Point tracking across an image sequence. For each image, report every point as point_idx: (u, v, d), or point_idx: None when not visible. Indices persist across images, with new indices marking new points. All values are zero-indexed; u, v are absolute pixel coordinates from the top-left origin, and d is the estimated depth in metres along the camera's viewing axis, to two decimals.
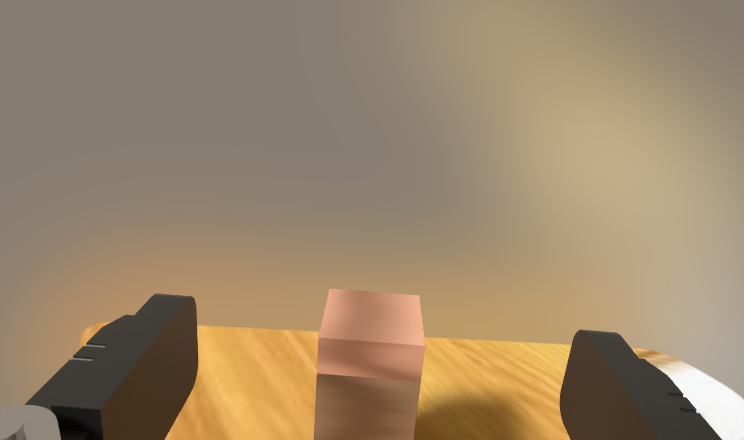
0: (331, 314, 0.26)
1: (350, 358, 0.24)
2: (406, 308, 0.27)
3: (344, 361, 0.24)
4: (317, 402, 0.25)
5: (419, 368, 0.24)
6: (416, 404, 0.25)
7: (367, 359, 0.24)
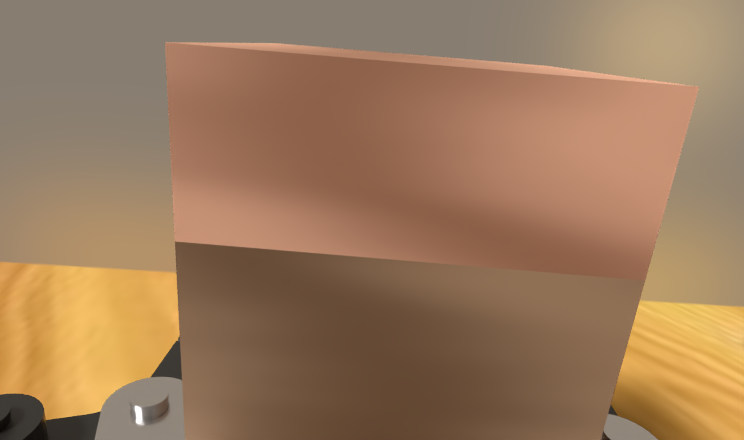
0: (260, 45, 0.07)
1: (326, 162, 0.05)
2: (526, 65, 0.08)
3: (298, 179, 0.05)
4: (190, 376, 0.06)
5: (649, 213, 0.05)
6: (609, 385, 0.06)
7: (406, 167, 0.05)
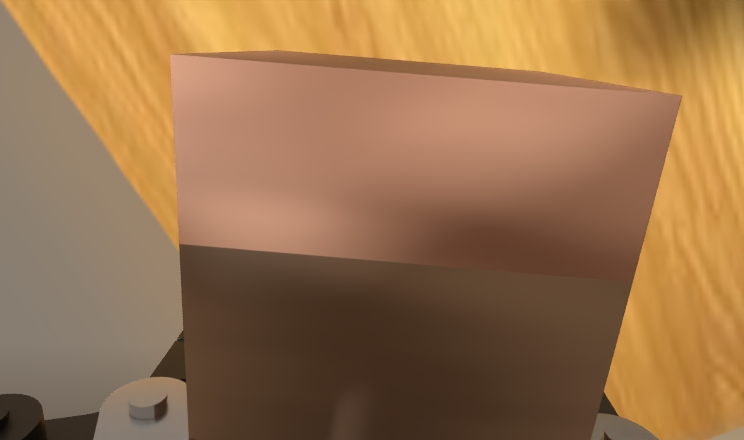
0: (262, 54, 0.07)
1: (323, 168, 0.05)
2: (520, 72, 0.08)
3: (297, 184, 0.05)
4: (193, 374, 0.06)
5: (636, 217, 0.05)
6: (599, 384, 0.06)
7: (401, 172, 0.05)
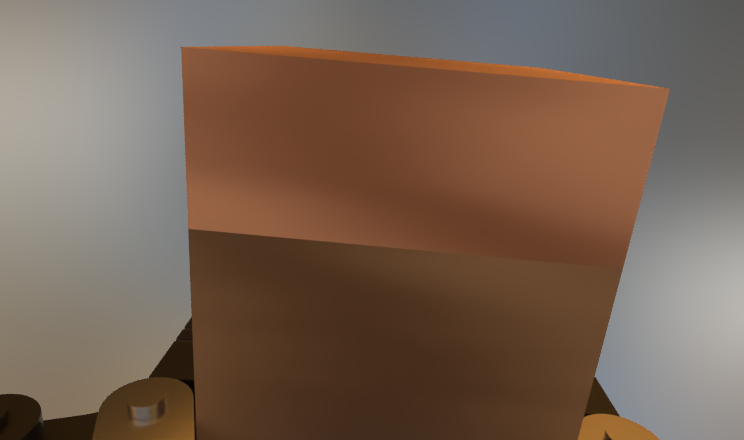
0: (268, 48, 0.07)
1: (326, 156, 0.06)
2: (520, 68, 0.08)
3: (301, 172, 0.06)
4: (201, 354, 0.06)
5: (626, 206, 0.06)
6: (590, 368, 0.06)
7: (400, 161, 0.06)
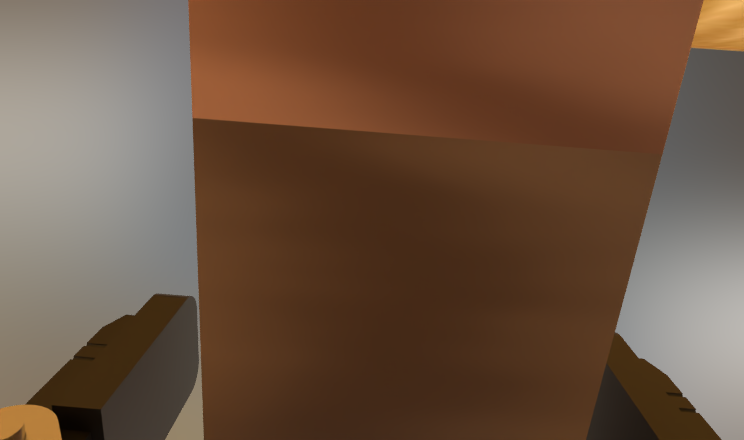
0: None
1: (348, 29, 0.05)
2: None
3: (319, 48, 0.05)
4: (206, 266, 0.06)
5: (668, 82, 0.05)
6: (625, 268, 0.06)
7: (429, 34, 0.05)
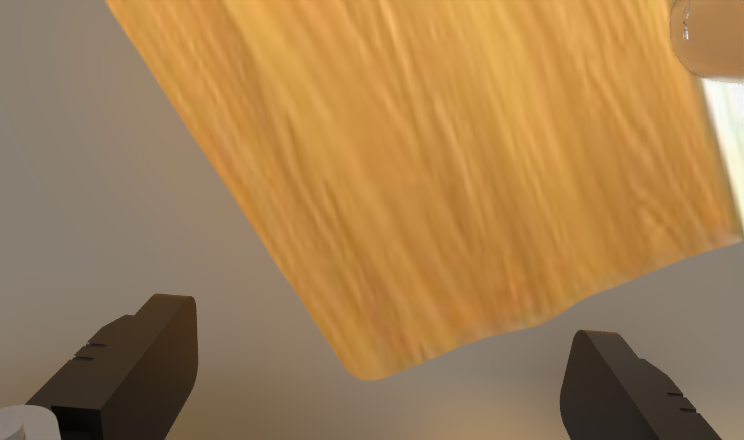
0: None
1: None
2: None
3: None
4: None
5: None
6: None
7: None
